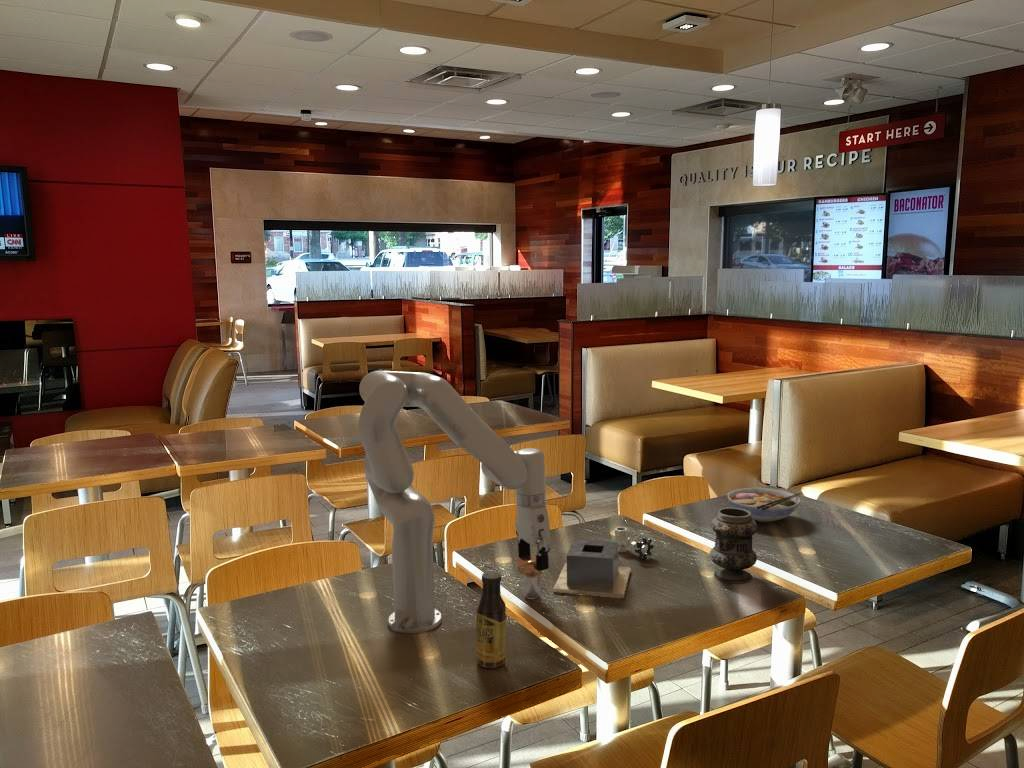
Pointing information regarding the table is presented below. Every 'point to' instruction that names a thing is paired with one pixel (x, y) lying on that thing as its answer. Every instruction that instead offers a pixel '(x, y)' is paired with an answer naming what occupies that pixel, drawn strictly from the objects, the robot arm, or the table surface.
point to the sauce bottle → (491, 623)
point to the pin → (530, 576)
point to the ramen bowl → (764, 503)
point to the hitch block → (593, 570)
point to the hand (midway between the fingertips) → (533, 563)
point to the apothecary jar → (733, 545)
